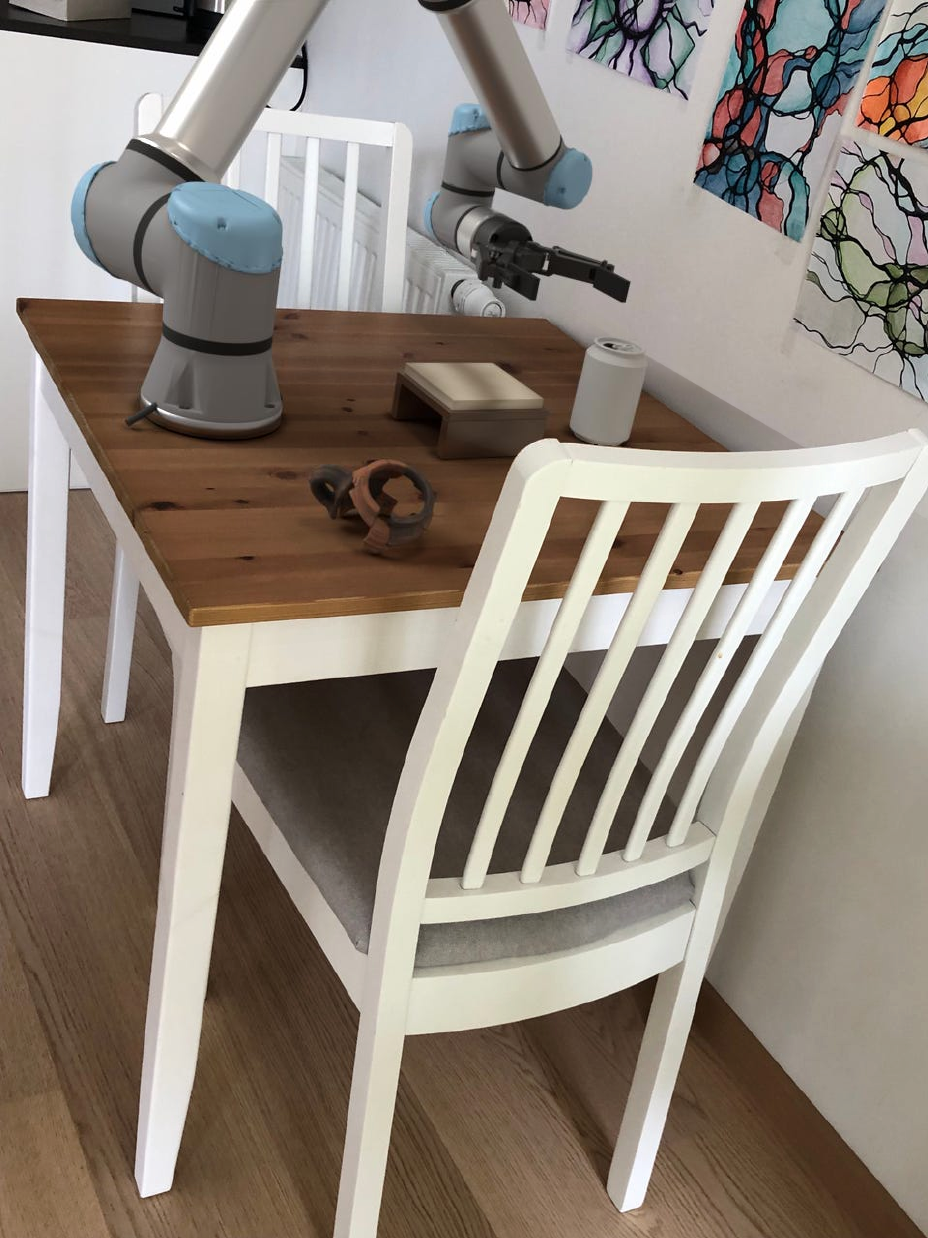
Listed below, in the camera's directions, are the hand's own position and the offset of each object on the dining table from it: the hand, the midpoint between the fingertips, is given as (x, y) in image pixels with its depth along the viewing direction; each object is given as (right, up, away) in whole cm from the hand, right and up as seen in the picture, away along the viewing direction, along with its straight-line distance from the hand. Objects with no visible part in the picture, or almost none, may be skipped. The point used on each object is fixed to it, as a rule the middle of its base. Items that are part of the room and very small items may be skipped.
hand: (582, 290), depth 152 cm
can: (+2, -18, 0) cm, 18 cm away
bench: (-14, -19, -7) cm, 25 cm away
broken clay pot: (-24, -32, -35) cm, 53 cm away
